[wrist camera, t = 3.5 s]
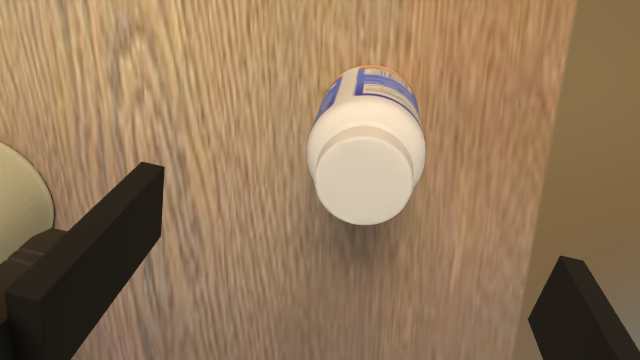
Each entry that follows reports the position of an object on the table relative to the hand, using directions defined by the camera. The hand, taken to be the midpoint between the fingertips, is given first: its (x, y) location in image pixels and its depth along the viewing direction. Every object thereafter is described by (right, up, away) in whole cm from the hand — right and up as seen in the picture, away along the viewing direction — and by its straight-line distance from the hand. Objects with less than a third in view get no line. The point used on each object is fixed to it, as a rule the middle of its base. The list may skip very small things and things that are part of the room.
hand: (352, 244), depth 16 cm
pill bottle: (+2, +6, +12) cm, 14 cm away
